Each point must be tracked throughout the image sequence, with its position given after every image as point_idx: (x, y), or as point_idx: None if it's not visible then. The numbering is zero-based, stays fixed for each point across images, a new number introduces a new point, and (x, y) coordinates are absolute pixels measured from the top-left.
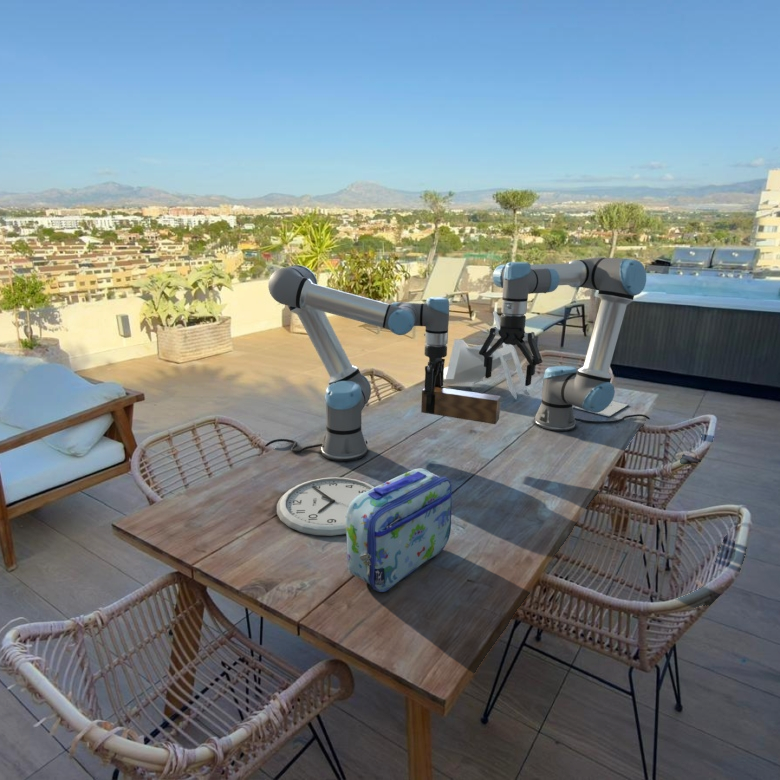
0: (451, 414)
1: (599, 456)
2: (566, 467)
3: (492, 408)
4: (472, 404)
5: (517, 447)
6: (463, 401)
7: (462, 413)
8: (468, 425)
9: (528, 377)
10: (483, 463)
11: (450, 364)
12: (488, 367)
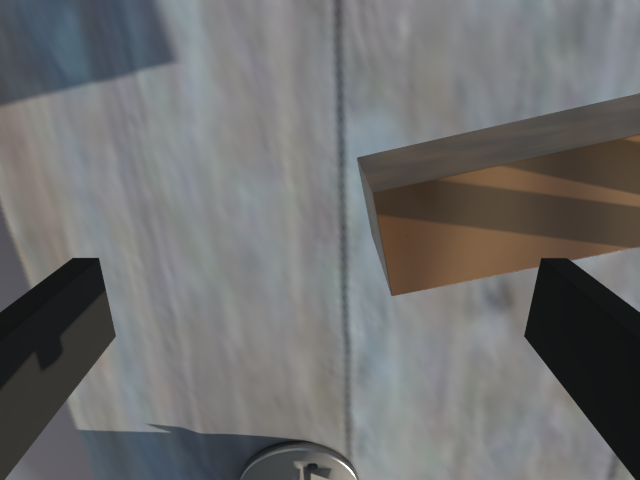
0: (616, 102)
1: None
2: (116, 221)
3: (392, 172)
4: (530, 142)
5: (313, 269)
6: (605, 128)
7: (558, 118)
8: None
9: (10, 314)
10: (352, 61)
11: None
12: (620, 335)
